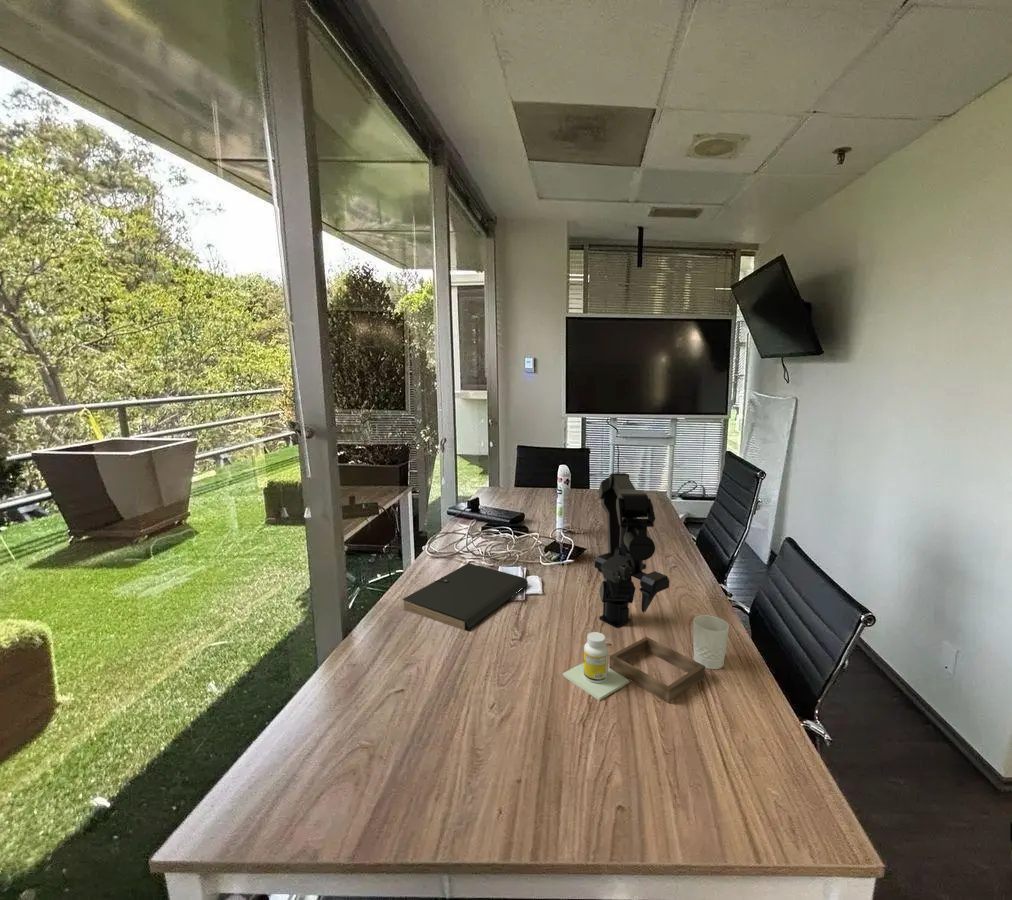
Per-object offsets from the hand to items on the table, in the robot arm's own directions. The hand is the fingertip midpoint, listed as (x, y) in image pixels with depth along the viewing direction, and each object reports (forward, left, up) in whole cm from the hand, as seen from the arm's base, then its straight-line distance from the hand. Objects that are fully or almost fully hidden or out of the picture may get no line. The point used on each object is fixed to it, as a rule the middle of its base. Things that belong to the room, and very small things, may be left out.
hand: (628, 604), depth 120 cm
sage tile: (+3, -15, -13) cm, 20 cm away
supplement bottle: (+3, -15, -12) cm, 19 cm away
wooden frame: (+10, -2, -13) cm, 16 cm away
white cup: (+15, +12, -13) cm, 23 cm away
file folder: (-49, -15, -13) cm, 53 cm away
